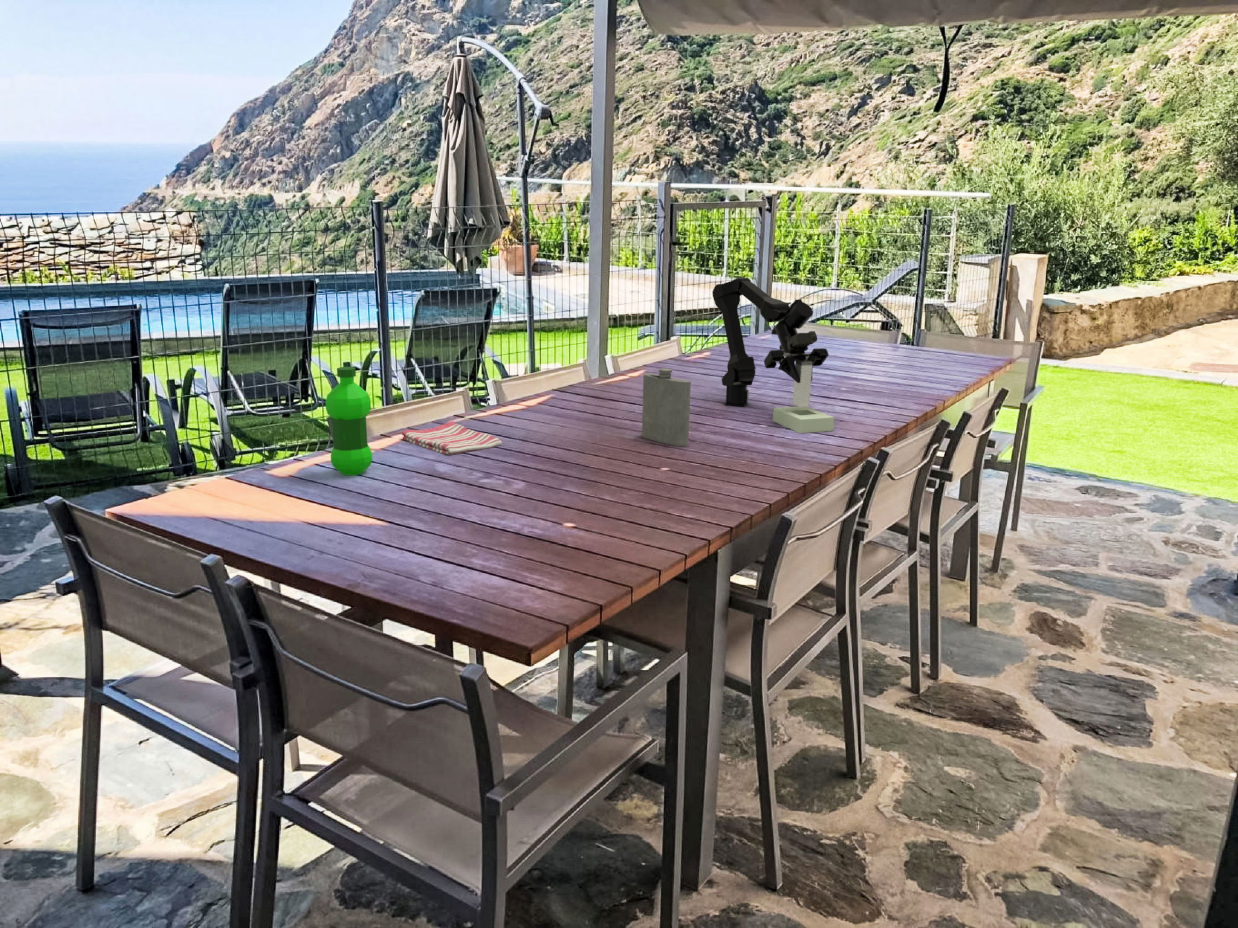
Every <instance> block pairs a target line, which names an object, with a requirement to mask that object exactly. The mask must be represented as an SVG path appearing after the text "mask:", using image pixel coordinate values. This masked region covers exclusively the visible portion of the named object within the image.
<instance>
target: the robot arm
mask: <svg viewBox="0 0 1238 928" xmlns="http://www.w3.org/2000/svg"><path fill="white" fill-rule="evenodd" d="M711 293H712V298H713V301H714V305H715V307H716V308H717V309H718V311H720V313H721V315H722V321H723V326H724V330H725V335H726V336H725V337H726V340H727V345H728V346H727V347H728V350H729V359H728V363H727V372H726V373H725V374H724V375H723V376H722V377H721V383H722V386H724V387H726V390H725V393H726V394H725V402H724V405H726V406H737V407H745V406H746V405H747V404H748V403H749V397H750V396H749V395H750V391H749V389H748V386H752V385H753V383H754V379H755V376H756V369H757V367H756V365H755V359H754V357H753V356H749V355H748V354H747V352H746V348H745V342H744V338H743V332H742V328H741V327H742V326H741V322H740V317H739V312H738V309H739V306H740V304H741V297H742V296H743V297H744V298H746V299H747V300H748V301H749V302H751V303H752V304H753V305H754V306H756V307H757V308H758V309H759V314H760V316H761V317H762V318H763V320H764V321H766V323H777V324H776V325H773V328H772V330H771V335H776V336H777V338H778V340H779V343H780V345H779V347H778V348H779V349H771V350H770V351H769V352H768V353H767V355H766V356H765V358H764V361H763V364H764V367H765V369H775V368H776V366H777V365H778V364H777V362H778V363H779V366H778V368H777V369H778V370H779V371H782V372H784V373H785V374H786V375H787V376H789V377H790V378H791V379H792V380H793V381H794V380H795V381H796V382H797V383H799V382H800V377H799V374H798V372H797V369H796V366H795V364H796V360H809V361H812V371H813V368H814V367H820V366H822V365H823V364H824V362H825V361H826V359H827V358H828V357H829V356H830V354H829V352H828V349H827V348H825V347H819V348H818V347H816V348H813V349H812V351H811V352H810V353H809V352H807V351H808V350H809V347H808V346H810V345H813V344H815V343H816V342H817V341H818V336H817V334H816V331H815V330H811V331H808V332H800V333H799V332H798V329H801V328H803V327H804V325H805V324H806V323H807V322H808V321H809V320H810V319H811V317H812V316H813V315H814V311H813V307H811V306H810V305H809V304H807V303H806V302H803V300H802V299H795V300H794V301H793V302H792V304H791V306H789V304H788V303H787V302H785V301H783V300H782V299H778V298H773V297H771V296H770V295H768V294H767V293H766V292H765V291H764V290H763V289H761V288H760V287H759V286H757V285H756V284H755V283H753V282H752V280H751V279H750V278H749V277H736V278H734V279H733V280H729V281H728V282H723V283H718V284H716V285H715V286H714V288H713V289H712V292H711ZM812 381H813V375H812V376H811V382H812Z"/></svg>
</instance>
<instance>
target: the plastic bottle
mask: <svg viewBox="0 0 1238 928" xmlns="http://www.w3.org/2000/svg"><path fill="white" fill-rule="evenodd" d="M336 373H337V374H336V377H337V378H339V382H338V384H337V385H335V386H334V388H333V389H332V390H330V392H329V393H327V394H326V398H325V410H326V414H327V415H328V416H329V417H330V418H331V419H332V420H331V421H332V434H333V435H332V437H333V447H332V450H331V452H330V462H331V465H332V466H333V468H334V469H335V470H336V471H338V472H339V473H341V475H344V476H357V475H361V474H363V473H364V472H365V471H366V470H368V469H369V467H370V466H371V464H372V463H373V452H372V451H373V450H372V449H371V447H370V446H369V444H368V432H367V431H368V429H367V416H368V415H369V414H370V412H371V408H372V406H371V403H372V402H371V397H370V395H369V393H368V392H367V391H366V390H364V389H363V388H362V387H361V386H360V385H358V384H357V383H356V382H355V379H354V377H356V376H357V374H356V367H355V366H341V367H337V368H336Z"/></svg>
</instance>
